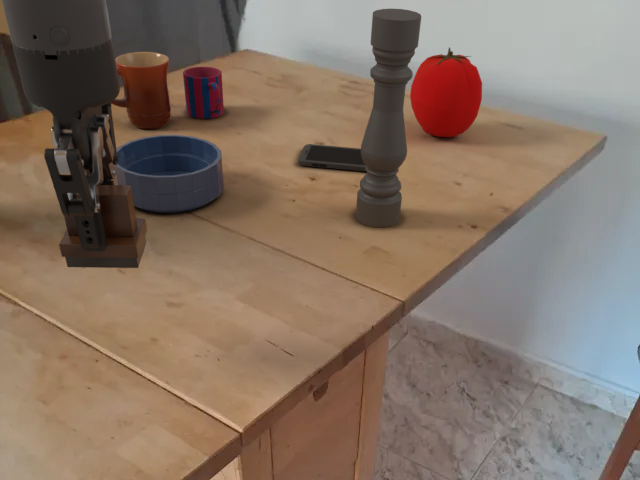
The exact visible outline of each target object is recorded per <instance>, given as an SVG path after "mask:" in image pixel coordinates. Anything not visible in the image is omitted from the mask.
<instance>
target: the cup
mask: <svg viewBox="0 0 640 480" xmlns="http://www.w3.org/2000/svg"><path fill="white" fill-rule="evenodd" d="M182 78H183V88H184V97H185V98H184V99H185V109H186V114H187V115H188V116H190V117H192V118H193V119H199V120H201V119H202V120H209V119H211V120H212V119H215V118H219V117H221V116H223V115H224V113H225V106H224V91H223V90H224V88H223V74H222V70H220V69H219V68H216V67H211V66H193V67H189V68H186V69H185V70H183V71H182Z"/></svg>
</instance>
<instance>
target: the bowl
mask: <svg viewBox="0 0 640 480" xmlns="http://www.w3.org/2000/svg"><path fill="white" fill-rule="evenodd" d="M116 150H117V156H118V163H117V165H114V168H115V171H116V176H115V180H114V185H130V186H131V189H132V196H133V202H134V208H135V207H136V208H138V209H140V210H143V211H147V212H153V213H161V214H163V213H164V214H166V213H167V214H170V213H171V214H172V213H181V212H187V211H193V210H196V209H199V208H201V207H204V206H206V205H208V204H209V203H211V202H212V201H214V200H215V199H217V198H218V197H220V196H221V194H222V192H223V191H224V189H225V187H224V171H223V157H222V150H221V148H219V146H217V145H216V143H213V142H211V141H209V140H208V139H204V138H200V137H196V136H193V135H182V134H157V135H149V136H143V137H139V138H136V139H132V140H130V141H127V142H125V143H123V144H121V145H119V146H118V147H116Z"/></svg>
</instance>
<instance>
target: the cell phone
mask: <svg viewBox="0 0 640 480" xmlns="http://www.w3.org/2000/svg"><path fill="white" fill-rule="evenodd" d="M297 162H298V165H299V166H303V167H314V168H323V169H334V170H346V171H356V172H366V173H367V171H366V165H365V163H364V162H363V159H362V156H361V148H359V147H358V148H357V147H347V146H335V145H326V144H325V145H324V144H315V143H313V144H312V143H308V144H307V143H306V144H305V145H304V146H303V147H302V150H301V152H300V154H299V157H298V161H297Z"/></svg>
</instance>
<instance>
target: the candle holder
mask: <svg viewBox="0 0 640 480" xmlns="http://www.w3.org/2000/svg"><path fill="white" fill-rule="evenodd" d="M371 19H372V20H371V31H370V32H371V33H370V46H372V47H371V48H372V49H371V51H372V54H373V56H374V60H375V61H374V62H376V63H375V65H373V66H372V67H371V68H370V71H369V72H370V73H369V74H370V75H369V76H370V78H372V80H373V83H374V87H373V88H374V89H373V100H372V108H371V112H370V115H369V117H368V121H367V124H366V128H365V132H364V134H363V138H362V140H361V144H360V149H361V156H362V159H363V162H364V163H365V165H366V171H367V172H366V171H365V172H366V173H365V174H364V175H363V177H362V178H361V179H360V180H359V189H358V191H357V193H356V204H355V205H356V206H355V219H356V220H357V221H358V223H361V224H363V225H364V226H367V227H371V228H388V227H389V228H390V227H392V226H395V225H396V224H398V222H400V216H401V208H402V200H403V195H402V192H400V191H401V190H402V182H401V181H400V179H399V176H398V175H397V174H398V173H399V168H400V167H402V165H403V163H404V162H405V161H406V158H407V155H408V144H407V135H406V125H405V124H406V123H405V115H404V105H405V96H406V87H407V85H408V83H409V82H410V81H411V80H412V79H413V75H414V74H413V70H412V69H411V67H409V64H410V63H411V60H412V58H413V57H414V56H415V54H416V49H417V48H418V47H419V41H420V40H419V39H420V33H421V24H422V15H421V13H419V12H417V11H415V10H410V9H404V8H380V9H376V10H374V11H373V12H372V18H371Z"/></svg>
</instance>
